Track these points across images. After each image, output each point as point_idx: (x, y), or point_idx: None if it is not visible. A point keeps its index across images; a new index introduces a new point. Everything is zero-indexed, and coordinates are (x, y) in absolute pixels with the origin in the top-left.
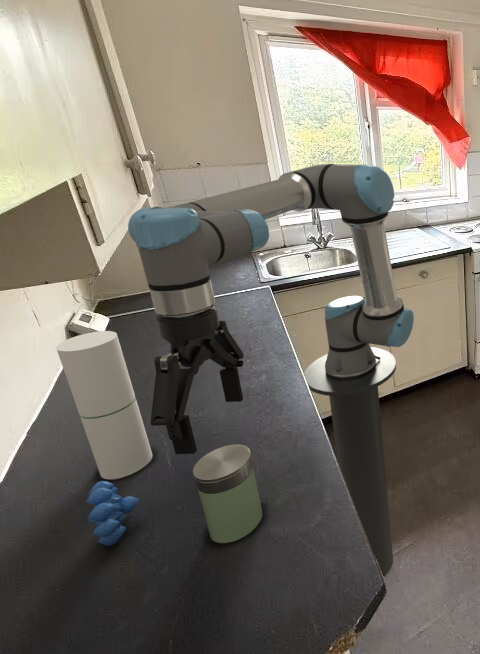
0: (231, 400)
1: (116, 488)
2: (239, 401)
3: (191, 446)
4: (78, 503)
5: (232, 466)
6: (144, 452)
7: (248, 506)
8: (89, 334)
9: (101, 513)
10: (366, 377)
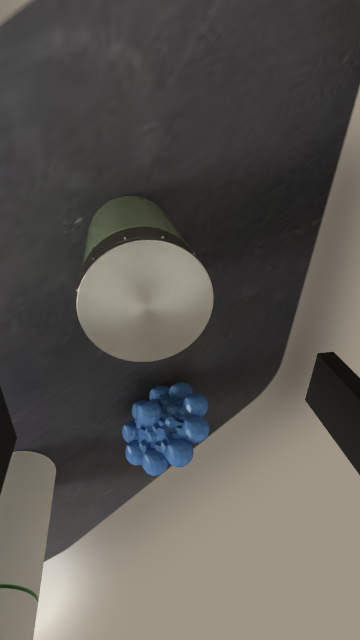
0: (8, 424)
1: (129, 447)
2: (1, 393)
3: (350, 373)
4: (100, 466)
5: (170, 268)
6: (10, 471)
7: (155, 212)
8: None
9: (207, 426)
10: None
